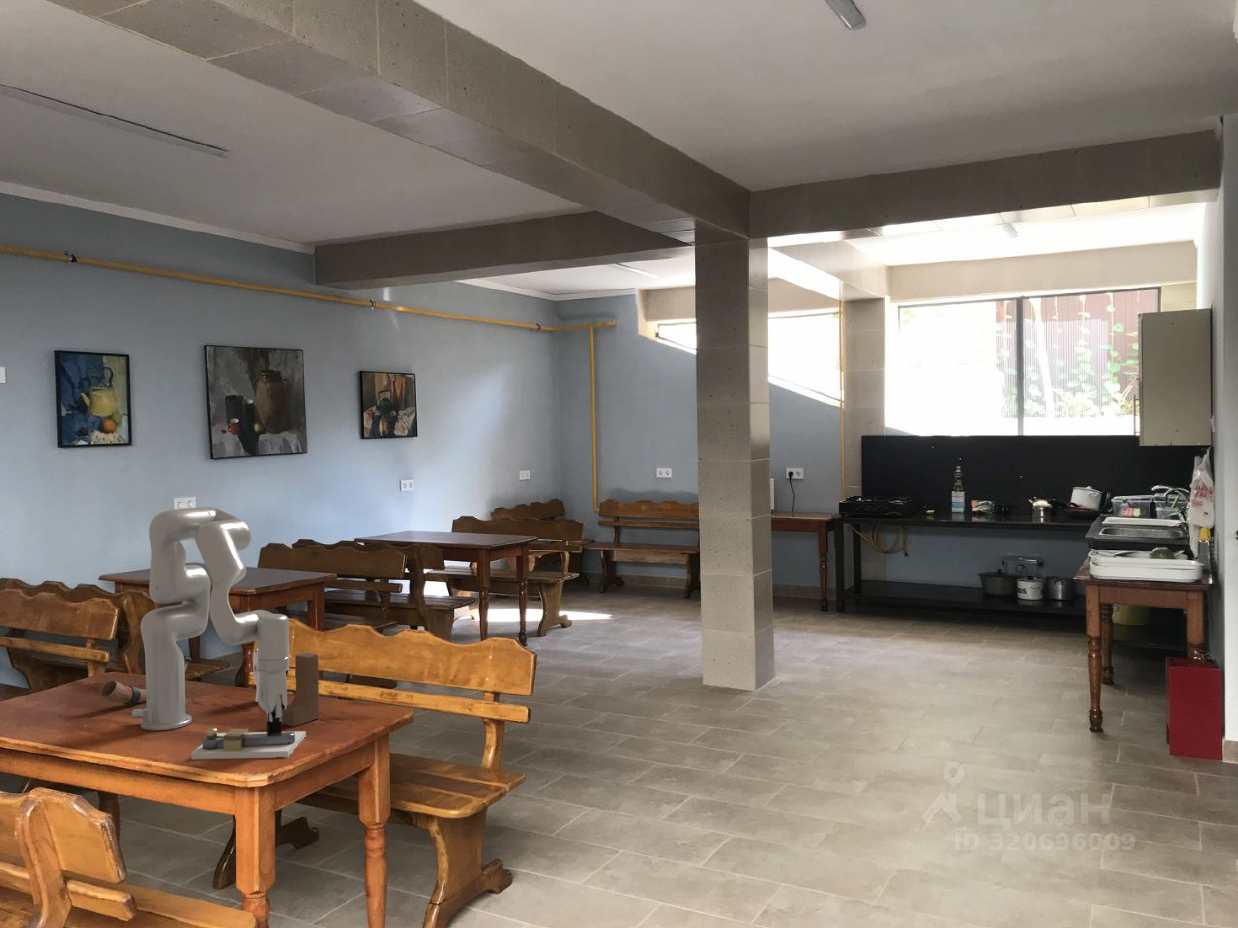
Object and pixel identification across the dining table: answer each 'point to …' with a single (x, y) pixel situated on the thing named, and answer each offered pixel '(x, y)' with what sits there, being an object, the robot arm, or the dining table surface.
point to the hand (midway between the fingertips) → (274, 736)
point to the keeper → (230, 738)
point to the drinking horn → (126, 691)
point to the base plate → (250, 750)
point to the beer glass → (256, 673)
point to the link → (252, 740)
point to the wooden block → (304, 692)
